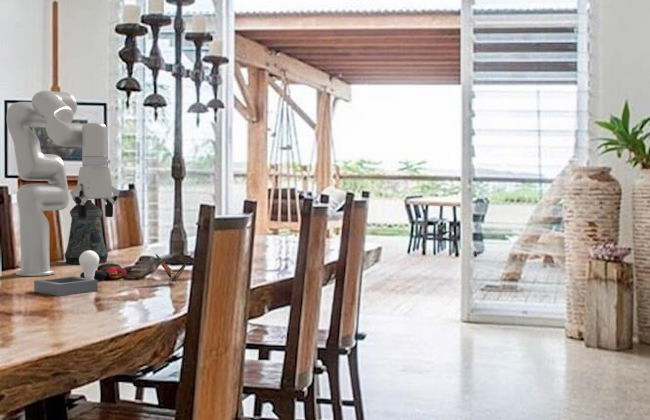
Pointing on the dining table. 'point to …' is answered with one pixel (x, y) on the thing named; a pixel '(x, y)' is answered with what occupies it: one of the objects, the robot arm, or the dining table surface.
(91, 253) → the lightbulb
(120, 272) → the toy motorcycle
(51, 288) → the socket tray
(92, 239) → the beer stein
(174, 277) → the butterfly
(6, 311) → the dining table surface
